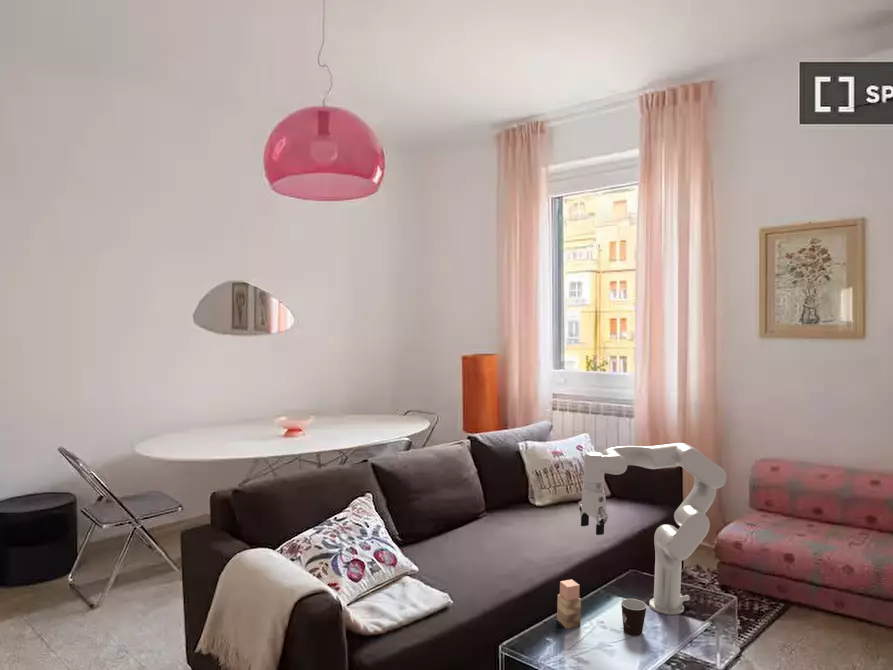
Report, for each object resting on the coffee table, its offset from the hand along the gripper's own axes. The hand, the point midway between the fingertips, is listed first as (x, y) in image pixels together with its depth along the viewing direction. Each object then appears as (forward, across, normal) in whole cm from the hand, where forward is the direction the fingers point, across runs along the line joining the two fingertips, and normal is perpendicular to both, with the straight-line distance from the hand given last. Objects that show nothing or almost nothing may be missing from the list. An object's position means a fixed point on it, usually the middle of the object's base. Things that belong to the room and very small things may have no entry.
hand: (592, 530), depth 252 cm
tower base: (+30, -7, +14) cm, 34 cm away
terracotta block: (+20, -7, +14) cm, 26 cm away
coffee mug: (+31, -19, -5) cm, 36 cm away
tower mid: (+25, -7, +14) cm, 30 cm away
